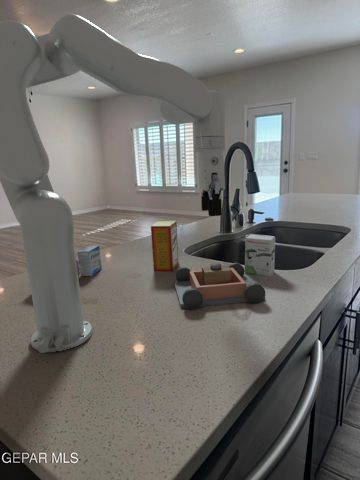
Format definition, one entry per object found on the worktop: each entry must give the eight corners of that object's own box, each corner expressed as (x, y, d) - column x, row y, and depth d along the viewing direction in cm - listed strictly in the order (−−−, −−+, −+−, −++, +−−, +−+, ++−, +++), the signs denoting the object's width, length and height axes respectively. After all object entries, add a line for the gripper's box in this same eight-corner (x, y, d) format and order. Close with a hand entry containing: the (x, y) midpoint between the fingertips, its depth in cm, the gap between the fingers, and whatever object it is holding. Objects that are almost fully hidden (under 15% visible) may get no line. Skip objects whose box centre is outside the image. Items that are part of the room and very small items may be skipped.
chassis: (267, 302, 85) (267, 283, 84) (181, 310, 83) (180, 291, 82) (244, 277, 103) (244, 261, 102) (174, 283, 101) (173, 267, 100)
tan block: (230, 291, 91) (230, 266, 89) (205, 293, 90) (204, 268, 88) (226, 284, 96) (226, 261, 94) (202, 286, 95) (201, 263, 93)
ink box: (244, 273, 107) (243, 237, 105) (249, 268, 112) (249, 233, 109) (271, 276, 103) (271, 239, 100) (275, 271, 107) (275, 235, 105)
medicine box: (92, 276, 111) (89, 251, 109) (80, 276, 112) (76, 251, 110) (102, 269, 119) (99, 245, 117) (90, 268, 120) (87, 245, 118)
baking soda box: (161, 263, 122) (158, 219, 118) (178, 263, 121) (176, 219, 117) (153, 271, 113) (150, 225, 109) (172, 271, 112) (170, 225, 108)
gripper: (233, 142, 76) (233, 217, 80) (216, 146, 92) (217, 207, 96) (200, 143, 75) (202, 219, 79) (190, 147, 92) (192, 209, 96)
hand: (211, 212), depth 88 cm, fingers open, 9 cm apart
